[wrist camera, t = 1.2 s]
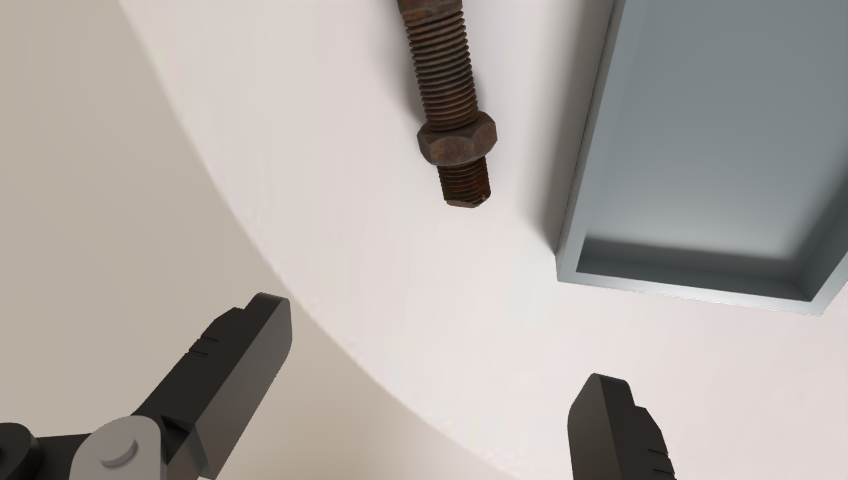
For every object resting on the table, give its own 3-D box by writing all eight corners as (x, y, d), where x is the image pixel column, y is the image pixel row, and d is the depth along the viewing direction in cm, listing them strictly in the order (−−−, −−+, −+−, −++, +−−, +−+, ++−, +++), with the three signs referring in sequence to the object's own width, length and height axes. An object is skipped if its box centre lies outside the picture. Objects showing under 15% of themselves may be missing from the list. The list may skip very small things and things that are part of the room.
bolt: (464, 176, 31) (419, -63, 23) (522, 185, 27) (494, -91, 19) (413, 214, 27) (340, -48, 19) (472, 229, 24) (414, -79, 16)
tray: (1144, -230, 14) (1272, -272, 12) (794, 286, 28) (820, 316, 25) (659, -197, 17) (680, -225, 15) (555, 256, 30) (557, 281, 28)
